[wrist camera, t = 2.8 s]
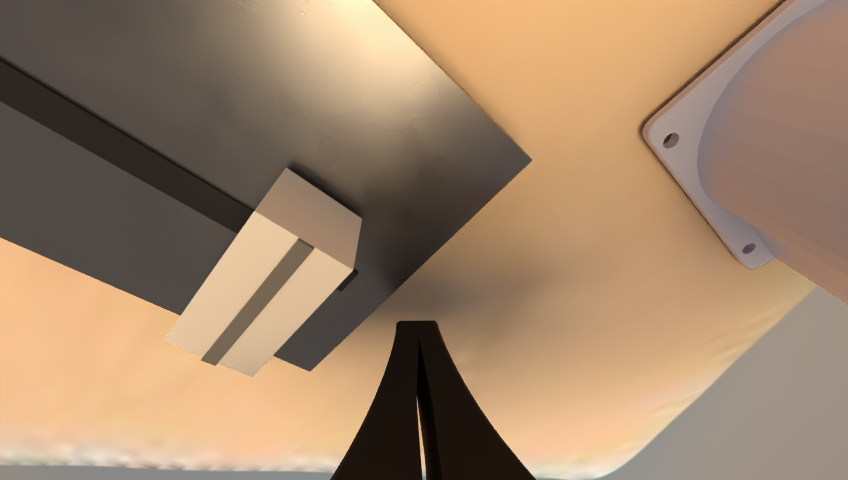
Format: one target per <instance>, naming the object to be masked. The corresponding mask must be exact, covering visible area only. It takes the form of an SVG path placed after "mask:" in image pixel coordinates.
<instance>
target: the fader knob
mask: <svg viewBox="0 0 848 480" xmlns="http://www.w3.org/2000/svg"><path fill="white" fill-rule="evenodd" d="M361 222H362V218H360V217H359V216H357V215H356V214H354V213H353V212H351V211H350V210H348V209H347V208H345V207H344V206H342V205H341V204H339V203H338V202H337V201H335V200H334V199H332V198H331V197H329V196H328V195H326V194H325V193H323V192H322V191H320V190H319V189H317V188H316V187H314V186H313V185H311V184H310V183H309V182H307V181H306V180H304V179H303V178H301V177H300V176H298V175H297V174H295V173H294V172H292V171H291V170H289V169H288V168H285V170H284V171H283V172H282V174H281V175H280V176H279V178H278V179H277V181H276V182H275V183H274V185H273V186H272V187H271V189H270V190H269V191H268V193H267V194H266V196H265V197H264V198H263V200H262V201H261V202H260V204H259V205H258V207H257V208H256V209H255V211H254V212H253V213H252V215H251V216H250V218H249V219H248V221H247V222H246V223H245V225H244V226H243V228H242V229H241V231H240V232H239V233H238V235H237V236H236V238H235V239H234V240H233V242H232V243H231V245H230V246H229V248H228V249H227V250H226V252H225V253H224V255H223V256H222V258H221V259H220V260H219V262H218V263H217V265H216V266H215V268H214V269H213V270H212V272H211V273H210V275H209V276H208V277H207V279H206V280H205V282H204V283H203V285H202V286H201V287H200V289H199V290H198V292H197V293H196V295H195V296H194V297H193V299H192V300H191V302H190V303H189V305H188V306H187V307H186V309H185V310H184V312H183V313H182V314H181V316H180V317H179V319H178V320H177V322H176V323H175V324H174V326H173V327H172V329H171V330H170V332H169V333H168V334H167V336H166V337H165V339H164V340H163V342H166V343H169V344H171V345H174V346H176V347H179V348H181V349H184V350H186V351H189V352H191V353H194V354H196V355H199V356H201V357H202V359H201V360H202V361H205V362H207V363H210V364H212V365H215V366H216V365H217V363H219V364H221V365H224V366H226V367H229V368H231V369H234V370H236V371H239V372H242V373H244V374H247V375H249V376H252V377H253V376H254V375H255V374H256V373H257V372H258V371H259V370H260V368H261V367H262V366H263V365H264V364H265V363H266V362H267V361H268V360H269V359H270V358H271V357H272V356H273V355H274V354H275V353H276V351H277V350H278V349H279V348H280V347H281V346H282V345H283V344H284V343H285V342H286V341H287V340H288V339H289V338H290V337H291V336H292V334H293V333H294V332H295V331H296V330H297V329H298V328H299V327H300V326H301V325H302V324H303V323H304V322H305V321H306V320H307V319H308V318H309V316H310V315H311V314H312V313H313V312H314V311H315V310H316V309H317V308H318V307H319V306H320V305H321V304H322V303H323V302H324V301H325V299H326V298H327V297H328V296H329V295H330V294H331V293H332V292H333V291H334V290H335V289H336V288H337V287H338V286H339V285H340V284H341V282H342V281H343V280H344V279H345V278H346V277H347V276H348V275H349V274H350V273H351V272H352V271H353V268H354V262H355V256H356V251H357V245H358V239H359V233H360V228H361Z"/></svg>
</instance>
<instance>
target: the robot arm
mask: <svg viewBox="0 0 848 480" xmlns="http://www.w3.org/2000/svg"><path fill="white" fill-rule="evenodd" d="M669 134H671V138H670V140H669V141H668V142H667V143H665V144H663V141H664V139H665V138H666V137H667V136H668V135H669ZM643 137H644V140H645V141H646V142H647V143H648V145H649V146H650V147H651V149H652V150H653V151H654V153H655V154H656V155H657V156H658V158H659V159H660V160H661V162H662V163H663V164H664V166H665V167H666V168H667V169H668V171H669V172H670V173H671V175H672V176H673V177H674V179H675V180H676V181H677V182H678V184H679V185H680V186H681V188H682V189H683V190H684V191H685V193H686V194H687V195H688V197H689V198H690V199H691V201H692V202H693V203H694V204H695V206H696V207H697V208H698V210H699V211H700V212H701V214H702V215H703V216H704V217H705V219H706V220H707V221H708V223H709V224H710V225H711V227H712V228H713V229H714V230H715V232H716V233H717V234H718V236H719V237H720V238H721V240H722V241H723V242H724V243H725V245H726V246H727V247H728V249H729V250H730V251H731V253H732V254H733V255H734V256H735V258H736V259H737V260H738V262H739V263H740V264H742V265H743V266H744V267H746V268H747V269H756V268H759V267H761V266H763V265H764V264H766V263H767V262H769V261H771V260H772V259H774V258H777V259H778V260H780V261H781V262H783V263H785V264H786V265H788V266H789V267H791V268H792V269H794V270H795V271H797V272H799V273H800V274H802V275H803V276H805V277H806V278H808V279H809V280H811V281H813V282H814V283H816V284H817V285H819V286H820V287H822V288H823V289H825V290H827V291H828V292H830V293H831V294H833V295H834V296H836V297H838V298H839V299H841V300H842V301H844V302H845V303H847V304H848V0H786V1H785V2H784V3H783V4H782V5H780V6H779V7H778V8H777V9H776V10H775V11H773V12H772V13H771V14H770V15H769V16H768V17H767V18H765V19H764V20H763V21H762V22H761V23H760V24H759V25H757V26H756V27H755V28H754V29H753V30H752V31H750V32H749V33H748V34H747V35H746V36H745V37H744V38H742V39H741V40H740V41H739V42H738V43H737V44H735V45H734V46H733V47H732V48H731V49H730V50H729V51H727V52H726V53H725V54H724V55H723V56H722V57H721V58H719V59H718V60H717V61H716V62H715V63H714V64H712V65H711V66H710V67H709V68H708V69H707V70H706V71H704V72H703V73H702V74H701V75H700V76H699V77H697V78H696V79H695V80H694V81H693V82H692V83H691V84H689V85H688V86H687V87H686V88H685V89H684V90H683V91H681V92H680V93H679V94H678V95H677V96H676V97H674V98H673V99H672V100H671V101H670V102H669V103H668V104H666V105H665V106H664V107H663V108H662V109H661V110H659V111H658V112H657V113H656V114H655V115H654V116H653V117H651V118H650V119H649V121H648V122H647V123H646V124H645V126H644V129H643ZM417 400H418V408H419V416H420V423H421V431H422V439H423V446H424V454H425V465H426V480H536V479H535V478H534V477H533V475H532V474H531V473H530V472H529V471H528V470H527V469H526V468H525V466H524V465H523V464H522V463H521V462H520V460H519V459H518V458H517V457H516V455H515V454H514V453H513V452H512V451H511V449H510V448H509V447H508V446H507V444H506V443H505V442H504V441H503V439H502V438H501V437H500V435H499V434H498V433H497V431H496V430H495V429H494V427H493V426H492V425H491V423H490V422H489V420H488V419H487V418H486V416H485V415H484V413H483V412H482V410H481V409H480V407H479V406H478V404H477V403H476V401H475V399H474V398H473V396H472V395H471V393H470V391H469V390H468V388H467V386H466V385H465V383H464V381H463V379H462V378H461V376H460V374H459V372H458V370H457V368H456V366H455V364H454V362H453V360H452V358H451V356H450V354H449V352H448V350H447V348H446V345H445V343H444V341H443V338H442V336H441V333H440V330H439V327H438V324H437V322H435V321H399V322H398V323H397V325H396V334H395V339H394V344H393V348H392V351H391V355H390V358H389V361H388V364H387V367H386V370H385V373H384V376H383V378H382V381H381V383H380V386H379V388H378V391H377V393H376V395H375V398H374V400H373V402H372V405H371V407H370V409H369V411H368V413H367V415H366V417H365V419H364V421H363V423H362V425H361V427H360V429H359V431H358V433H357V435H356V437H355V439H354V440H353V442H352V444H351V446H350V448H349V450H348V451H347V453H346V455H345V457H344V458H343V460H342V462H341V463H340V465H339V466H338V468H337V470H336V471H335V473H334V475H333V476H332V478H331V479H330V480H422V468H421V456H420V442H419V429H418V414H417Z"/></svg>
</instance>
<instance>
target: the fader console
mask: <svg viewBox="0 0 848 480" xmlns="http://www.w3.org/2000/svg"><path fill="white" fill-rule="evenodd" d="M531 161H532V159H531V158H530V157H529V156H528V155H527V154H526V153H525V152H524V151H523V150H522V148H521V147H520V146H519V145H518V144H517V143H516V142H515V141H514V140H513V139H512V138H511V137H510V136H509V135H508V134H507V133H506V132H505V131H504V130H503V129H502V128H501V127H500V126H499V125H498V124H497V123H496V122H495V121H494V120H493V119H492V118H491V117H490V116H489V115H488V114H487V113H486V112H485V111H484V110H483V109H482V108H481V107H480V106H479V105H478V104H477V103H476V102H475V101H474V100H473V99H472V98H471V97H470V96H469V95H468V94H467V93H466V92H465V91H464V90H463V89H462V88H461V87H460V86H459V85H458V84H457V83H456V82H455V81H454V80H453V79H452V78H451V77H450V76H449V75H448V74H447V73H446V72H445V71H444V70H443V69H442V68H441V67H440V66H439V65H438V64H437V63H436V62H435V61H434V60H433V59H432V58H431V57H430V56H429V55H428V54H427V53H426V52H425V51H424V50H423V49H422V48H421V47H420V46H419V45H418V44H417V43H416V42H415V41H414V40H413V39H412V38H411V37H410V36H409V35H408V34H407V33H406V32H405V31H404V30H403V29H402V28H401V27H400V26H399V25H398V24H397V23H396V22H395V21H394V20H393V19H392V18H391V17H390V16H389V15H388V14H387V13H386V12H385V11H384V10H383V9H382V8H381V7H380V6H379V5H378V4H377V3H376V2H375V1H374V0H0V237H1V238H3V239H5V240H8V241H10V242H12V243H14V244H17V245H19V246H21V247H24V248H26V249H28V250H31V251H33V252H35V253H38V254H40V255H42V256H44V257H47V258H49V259H51V260H54V261H56V262H58V263H61V264H63V265H65V266H67V267H70V268H72V269H74V270H77V271H79V272H81V273H84V274H86V275H88V276H91V277H93V278H95V279H97V280H100V281H102V282H104V283H107V284H109V285H111V286H114V287H116V288H118V289H121V290H123V291H125V292H127V293H130V294H132V295H134V296H137V297H139V298H141V299H144V300H146V301H148V302H151V303H153V304H155V305H157V306H160V307H162V308H164V309H167V310H169V311H171V312H174V313H176V314H178V315H180V316H181V314H182V313H183V312H184V310H185V309H186V307H187V306H188V305H189V303H190V302H191V300H192V299H193V297H194V296H195V295H196V293H197V292H198V290H199V289H200V287H201V286H202V285H203V283H204V282H205V280H206V279H207V277H208V276H209V275H210V273H211V272H212V270H213V269H214V268H215V266H216V265H217V263H218V262H219V260H220V259H221V258H222V256H223V255H224V253H225V252H226V250H227V249H228V248H229V246H230V245H231V243H232V242H233V240H234V239H235V238H236V236H237V235H238V233H239V232H240V231H241V229H242V228H243V226H244V225H245V223H246V222H247V221H248V219H249V218H250V216H251V215H252V213H253V212H254V211H255V209H256V208H257V207H258V205H259V204H260V202H261V201H262V200H263V198H264V197H265V196H266V194H267V193H268V191H269V190H270V189H271V187H272V186H273V185H274V183H275V182H276V181H277V179H278V178H279V176H280V175H281V174H282V172H283V171H284V170H285V168H288V169H289V170H291V171H292V172H294V173H295V174H297V175H298V176H300V177H301V178H303V179H304V180H306V181H307V182H309V183H310V184H311V185H313V186H314V187H316V188H317V189H319V190H320V191H322V192H323V193H325V194H326V195H328V196H329V197H331V198H332V199H334V200H335V201H337V202H338V203H339V204H341V205H342V206H344V207H345V208H347V209H348V210H350V211H351V212H353V213H354V214H356V215H357V216H359V217H360V218H362V222H361V228H360V233H359V239H358V245H357V251H356V256H355V262H354V268H353V271H352V272H351V273H350V274H349V275H348V276H347V277H346V278H345V279H344V280H343V281H342V282H341V284H340V285H339V286H338V287H337V288H336V289H335V290H334V291H333V292H332V293H331V294H330V295H329V296H328V297H327V298H326V299H325V301H324V302H323V303H322V304H321V305H320V306H319V307H318V308H317V309H316V310H315V311H314V312H313V313H312V314H311V315H310V316H309V318H308V319H307V320H306V321H305V322H304V323H303V324H302V325H301V326H300V327H299V328H298V329H297V330H296V331H295V332H294V333H293V334H292V336H291V337H290V338H289V339H288V340H287V341H286V342H285V343H284V344H283V345H282V346H281V347H280V348H279V349H278V350H277V351H276V353H275V354H274V355H273V356H275V357H277V358H280V359H282V360H284V361H287V362H289V363H291V364H293V365H296V366H298V367H300V368H303V369H305V370H307V371H311V370H312V369H313V368H314V367H315V366H317V365H318V364H319V363H320V362H321V361H322V360H323V359H324V358H325V357H326V356H327V355H328V354H329V353H330V352H331V351H332V350H333V349H334V348H335V347H336V346H338V345H339V344H340V343H341V342H342V341H343V340H344V339H345V338H346V337H347V336H348V335H349V334H350V333H351V332H352V331H353V330H354V329H355V328H356V327H358V326H359V325H360V324H361V323H362V322H363V321H364V320H365V319H366V318H367V317H368V316H369V315H370V314H371V313H372V312H373V311H374V310H375V309H376V308H377V307H379V306H380V305H381V304H382V303H383V302H384V301H385V300H386V299H387V298H388V297H389V296H390V295H391V294H392V293H393V292H394V291H395V290H396V289H397V288H398V287H400V286H401V285H402V284H403V283H404V282H405V281H406V280H407V279H408V278H409V277H410V276H411V275H412V274H413V273H414V272H415V271H416V270H417V269H418V268H420V267H421V266H422V265H423V264H424V263H425V262H426V261H427V260H428V259H429V258H430V257H431V256H432V255H433V254H434V253H435V252H436V251H437V250H438V249H439V248H441V247H442V246H443V245H444V244H445V243H446V242H447V241H448V240H449V239H450V238H451V237H452V236H453V235H454V234H455V233H456V232H457V231H458V230H459V229H460V228H462V227H463V226H464V225H465V224H466V223H467V222H468V221H469V220H470V219H471V218H472V217H473V216H474V215H475V214H476V213H477V212H478V211H479V210H480V209H481V208H483V207H484V206H485V205H486V204H487V203H488V202H489V201H490V200H491V199H492V198H493V197H494V196H495V195H496V194H497V193H498V192H499V191H500V190H501V189H503V188H504V187H505V186H506V185H507V184H508V183H509V182H510V181H511V180H512V179H513V178H514V177H515V176H516V175H517V174H518V173H519V172H520V171H521V170H522V169H524V168H525V167H526V166H527V165H528V164H529V163H530V162H531Z"/></svg>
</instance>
